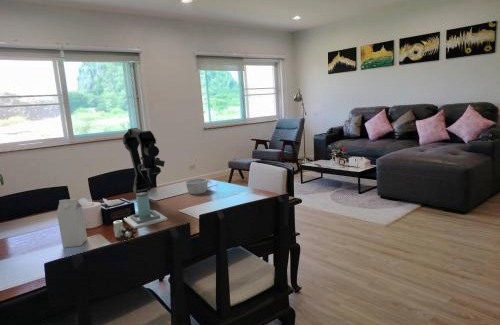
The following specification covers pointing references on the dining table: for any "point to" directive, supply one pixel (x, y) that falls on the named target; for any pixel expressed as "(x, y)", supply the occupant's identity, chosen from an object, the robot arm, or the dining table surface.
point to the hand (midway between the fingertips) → (150, 184)
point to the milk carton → (71, 223)
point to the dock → (137, 223)
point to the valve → (122, 230)
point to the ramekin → (197, 186)
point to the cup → (143, 205)
